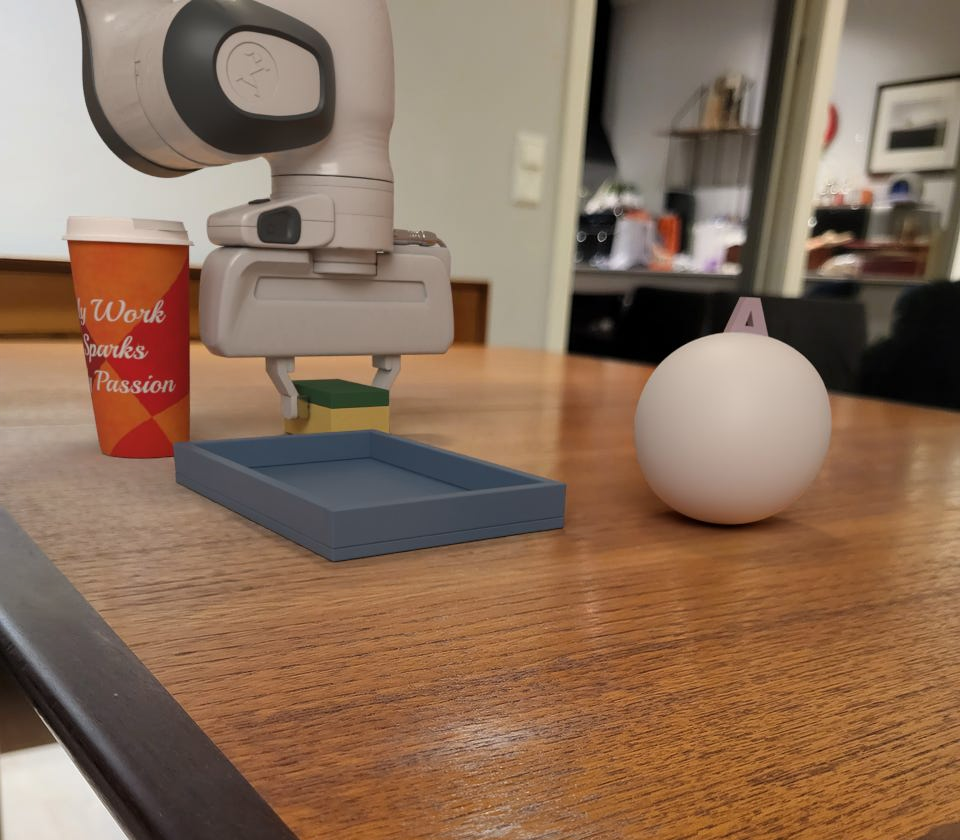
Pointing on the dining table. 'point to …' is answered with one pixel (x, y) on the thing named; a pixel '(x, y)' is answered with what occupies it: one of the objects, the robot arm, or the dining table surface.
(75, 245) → the coffee cup
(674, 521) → the dining table surface
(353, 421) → the sponge
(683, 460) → the ornament
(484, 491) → the tray
